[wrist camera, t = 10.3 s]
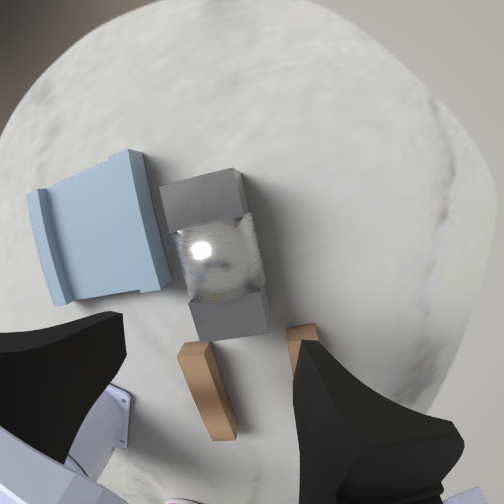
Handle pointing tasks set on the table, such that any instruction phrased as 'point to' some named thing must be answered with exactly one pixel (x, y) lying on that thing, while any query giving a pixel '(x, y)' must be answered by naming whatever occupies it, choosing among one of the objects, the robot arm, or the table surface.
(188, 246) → the silver boxy piece
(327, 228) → the table surface
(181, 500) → the supplement bottle
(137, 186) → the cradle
